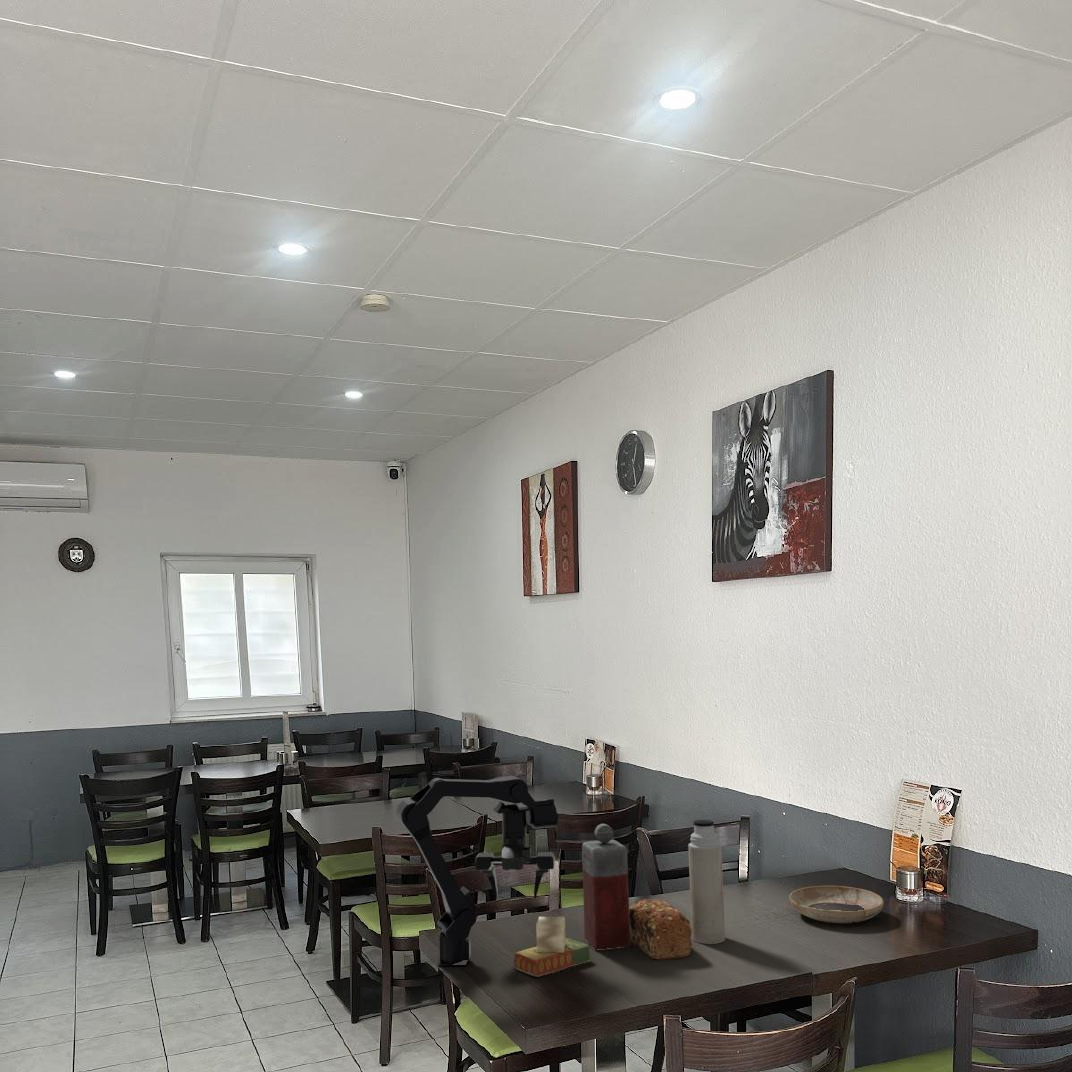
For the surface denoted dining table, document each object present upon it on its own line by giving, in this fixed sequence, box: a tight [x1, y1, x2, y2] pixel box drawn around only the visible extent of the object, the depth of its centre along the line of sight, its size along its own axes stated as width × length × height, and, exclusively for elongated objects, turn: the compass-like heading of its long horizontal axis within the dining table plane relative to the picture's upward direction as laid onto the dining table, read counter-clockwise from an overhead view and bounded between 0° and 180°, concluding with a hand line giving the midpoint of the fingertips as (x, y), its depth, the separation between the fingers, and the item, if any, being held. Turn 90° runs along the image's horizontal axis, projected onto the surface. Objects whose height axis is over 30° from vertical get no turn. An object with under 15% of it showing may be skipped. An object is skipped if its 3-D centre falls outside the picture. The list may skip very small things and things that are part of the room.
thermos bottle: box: [688, 819, 726, 945], centre depth 231 cm, size 8×8×28 cm
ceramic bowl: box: [788, 885, 885, 924], centre depth 246 cm, size 23×24×5 cm
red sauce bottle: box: [581, 823, 631, 950], centre depth 231 cm, size 9×11×28 cm
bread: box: [629, 898, 693, 960], centre depth 226 cm, size 19×11×10 cm, turn 13°
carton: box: [513, 937, 592, 976], centre depth 214 cm, size 8×16×4 cm, turn 129°
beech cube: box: [535, 916, 567, 953], centre depth 215 cm, size 6×6×6 cm
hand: (515, 898), depth 224 cm, fingers open, 9 cm apart
